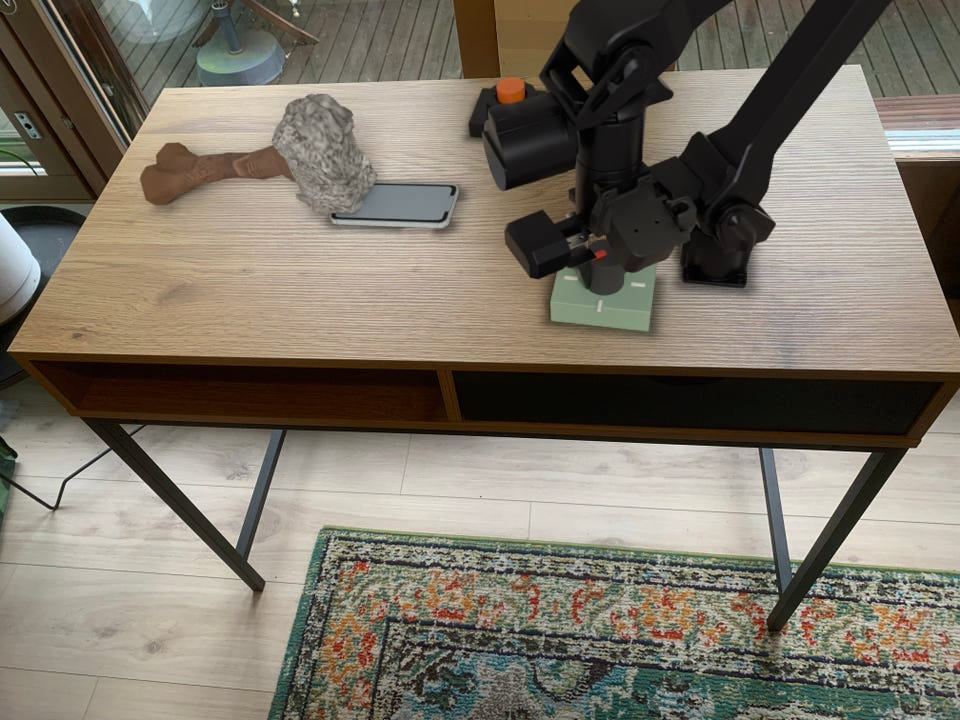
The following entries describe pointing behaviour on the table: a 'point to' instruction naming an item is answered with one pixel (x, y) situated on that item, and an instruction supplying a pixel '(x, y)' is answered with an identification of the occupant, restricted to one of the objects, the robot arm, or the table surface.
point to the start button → (510, 90)
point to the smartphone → (404, 206)
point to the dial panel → (604, 301)
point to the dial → (605, 269)
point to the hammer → (280, 160)
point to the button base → (489, 100)
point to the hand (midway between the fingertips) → (604, 278)
